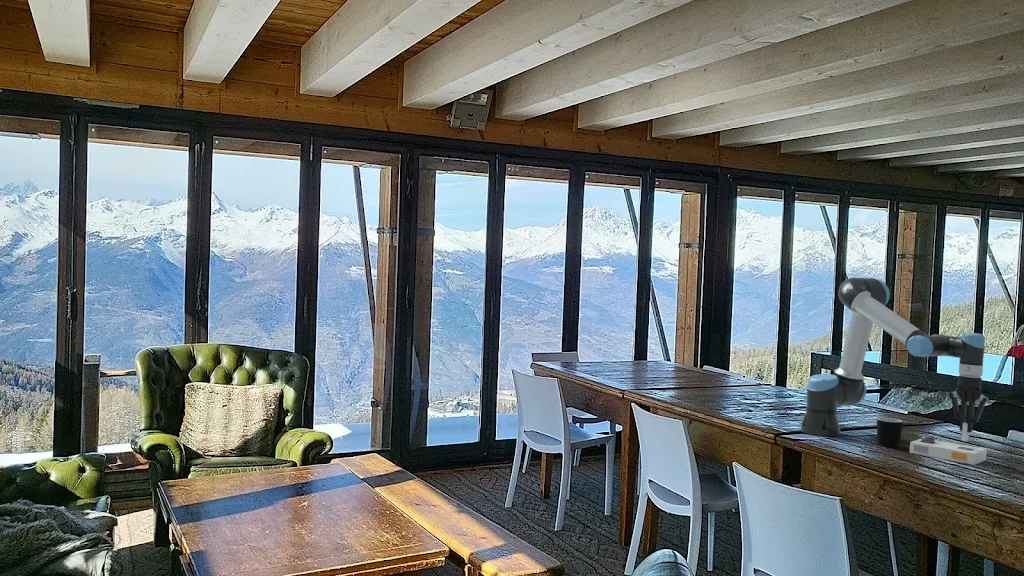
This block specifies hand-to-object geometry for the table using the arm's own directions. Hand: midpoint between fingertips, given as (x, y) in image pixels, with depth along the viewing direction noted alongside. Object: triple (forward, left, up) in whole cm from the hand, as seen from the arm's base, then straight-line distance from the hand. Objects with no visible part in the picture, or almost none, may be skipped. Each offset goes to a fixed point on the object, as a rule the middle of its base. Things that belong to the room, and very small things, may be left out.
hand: (964, 440), depth 306 cm
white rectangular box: (-5, 0, -7) cm, 9 cm away
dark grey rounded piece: (-13, 0, -4) cm, 13 cm away
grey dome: (0, 0, -6) cm, 6 cm away
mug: (-27, 0, -7) cm, 28 cm away
